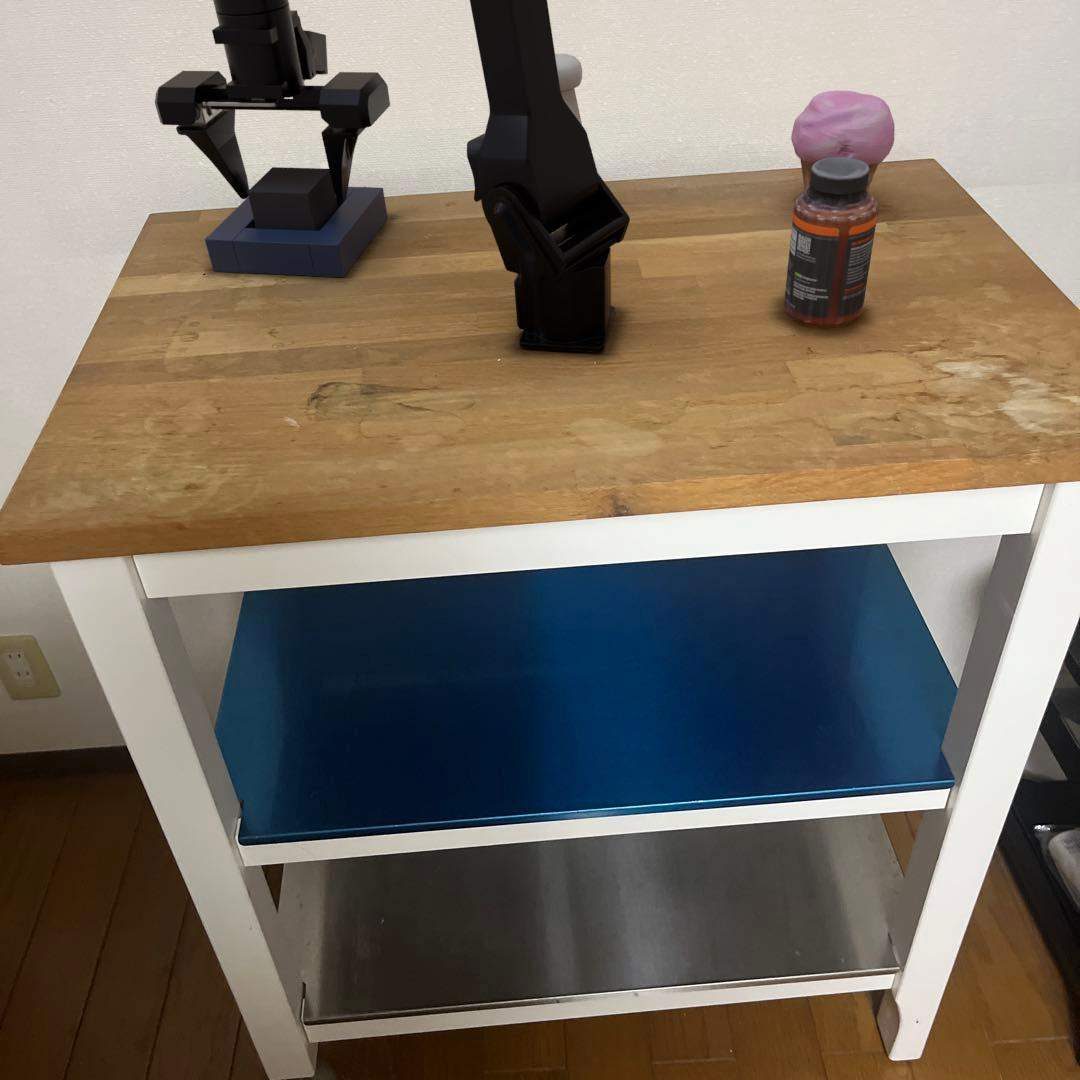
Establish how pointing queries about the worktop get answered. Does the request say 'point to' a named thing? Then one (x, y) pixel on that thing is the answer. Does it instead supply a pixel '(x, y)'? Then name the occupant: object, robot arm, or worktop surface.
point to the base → (299, 240)
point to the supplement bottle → (831, 244)
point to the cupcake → (843, 130)
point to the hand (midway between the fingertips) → (293, 198)
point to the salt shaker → (569, 80)
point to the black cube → (293, 199)
